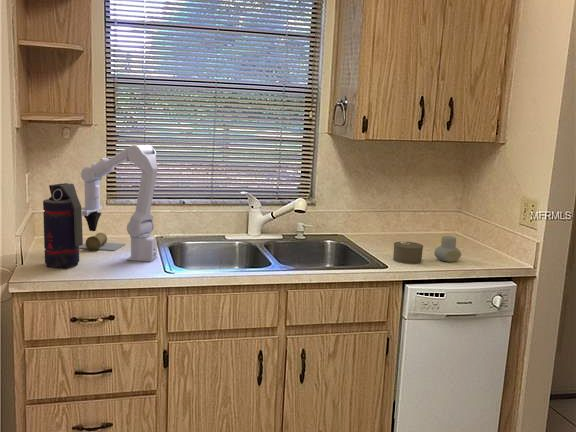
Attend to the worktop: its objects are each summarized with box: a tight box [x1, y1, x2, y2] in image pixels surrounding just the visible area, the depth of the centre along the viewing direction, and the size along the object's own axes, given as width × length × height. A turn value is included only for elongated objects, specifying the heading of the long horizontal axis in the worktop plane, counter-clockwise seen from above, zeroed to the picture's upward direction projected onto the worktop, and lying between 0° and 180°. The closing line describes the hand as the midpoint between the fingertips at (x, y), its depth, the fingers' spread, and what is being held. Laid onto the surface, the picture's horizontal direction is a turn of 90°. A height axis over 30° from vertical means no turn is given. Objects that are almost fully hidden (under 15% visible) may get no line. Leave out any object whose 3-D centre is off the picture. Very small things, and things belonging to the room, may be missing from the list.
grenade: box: [42, 182, 84, 270], centre depth 219 cm, size 14×12×30 cm
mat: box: [79, 242, 126, 252], centre depth 253 cm, size 16×12×1 cm
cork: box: [85, 232, 108, 252], centre depth 250 cm, size 6×6×11 cm
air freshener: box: [433, 235, 462, 263], centre depth 255 cm, size 11×8×10 cm
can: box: [392, 241, 424, 265], centre depth 252 cm, size 12×12×7 cm
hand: (92, 230), depth 243 cm, fingers closed
